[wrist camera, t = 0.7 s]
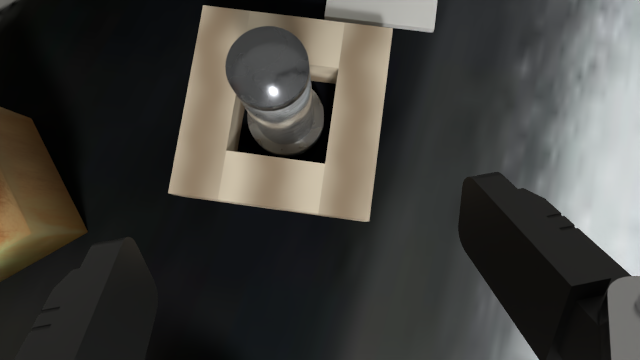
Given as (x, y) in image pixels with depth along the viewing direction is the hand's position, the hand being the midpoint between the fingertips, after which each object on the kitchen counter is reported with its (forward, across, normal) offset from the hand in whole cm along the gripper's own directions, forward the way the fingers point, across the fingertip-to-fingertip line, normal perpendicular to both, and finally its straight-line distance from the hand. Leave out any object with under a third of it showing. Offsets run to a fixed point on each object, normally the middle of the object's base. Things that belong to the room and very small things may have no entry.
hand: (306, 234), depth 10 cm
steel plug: (+25, 0, +8) cm, 27 cm away
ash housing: (+25, 0, +8) cm, 27 cm away
